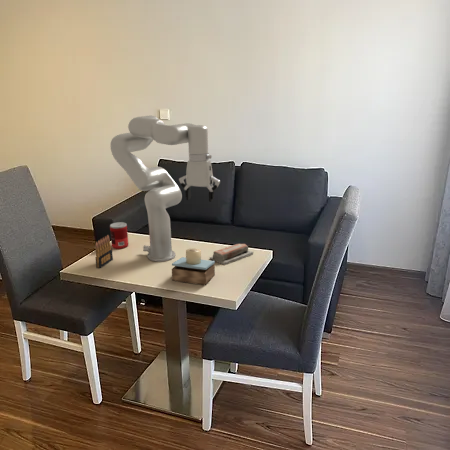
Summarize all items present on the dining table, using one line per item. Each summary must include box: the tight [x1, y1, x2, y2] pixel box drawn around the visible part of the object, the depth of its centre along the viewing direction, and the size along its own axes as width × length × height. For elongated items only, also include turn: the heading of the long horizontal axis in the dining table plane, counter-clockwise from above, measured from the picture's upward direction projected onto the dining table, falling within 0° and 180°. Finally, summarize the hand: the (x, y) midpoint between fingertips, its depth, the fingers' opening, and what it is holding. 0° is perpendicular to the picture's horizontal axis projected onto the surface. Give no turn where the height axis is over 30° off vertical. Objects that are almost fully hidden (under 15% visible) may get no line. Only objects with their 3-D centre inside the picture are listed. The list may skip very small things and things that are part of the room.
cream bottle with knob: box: [185, 248, 202, 265], centre depth 190 cm, size 6×6×5 cm
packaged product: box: [209, 243, 254, 266], centre depth 213 cm, size 18×5×10 cm
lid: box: [171, 256, 216, 270], centre depth 191 cm, size 14×10×1 cm
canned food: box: [109, 221, 129, 250], centre depth 227 cm, size 8×8×11 cm
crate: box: [171, 263, 216, 286], centre depth 192 cm, size 14×10×5 cm
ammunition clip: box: [95, 234, 114, 269], centre depth 206 cm, size 11×2×12 cm, turn 162°
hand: (199, 199), depth 191 cm, fingers open, 9 cm apart
